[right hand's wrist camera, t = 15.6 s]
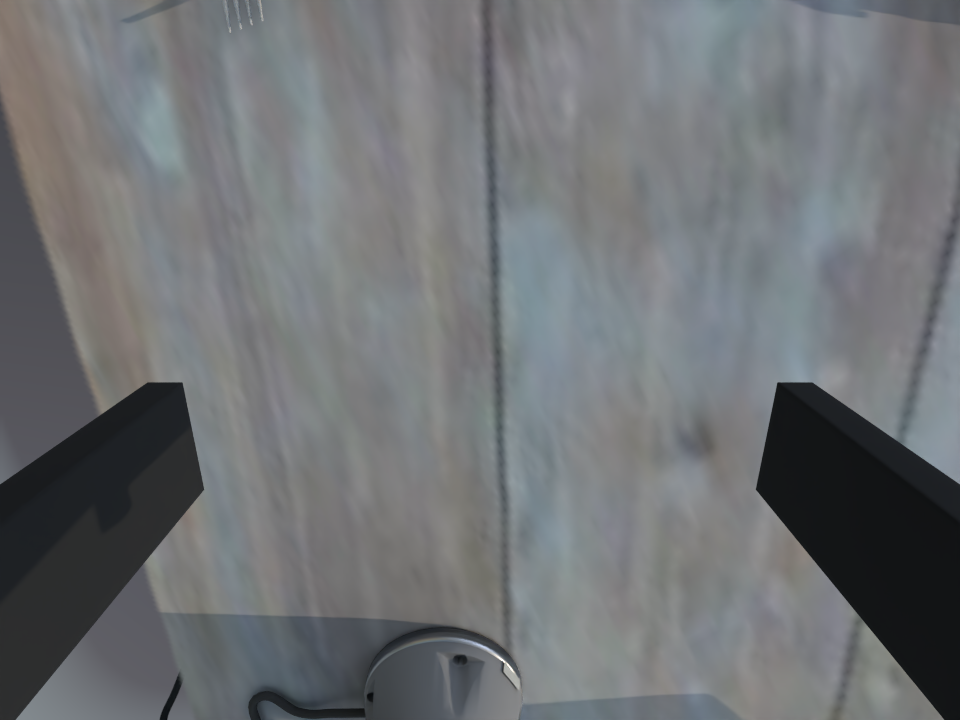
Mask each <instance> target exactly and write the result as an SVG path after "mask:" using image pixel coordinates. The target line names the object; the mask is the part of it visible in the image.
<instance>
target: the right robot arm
mask: <svg viewBox="0 0 960 720" xmlns="http://www.w3.org/2000/svg"><path fill="white" fill-rule="evenodd" d="M203 490H204V487H203V482H202V477H201V472H200V467H199V462H198V457H197V452H196V447H195V442H194V437H193V432H192V427H191V422H190V418H189V413H188V408H187V403H186V398H185V393H184V388H183V383H146V384H145V385H143V386H142V387H141V388H139V389H138V390H136V391H135V392H133V393H132V394H130V395H129V396H128V397H126V398H125V399H123V400H122V401H120V402H119V403H117V404H116V405H114V406H113V407H112V408H110V409H109V410H107V411H106V412H104V413H103V414H101V415H100V416H99V417H97V418H96V419H94V420H93V421H91V422H90V423H89V424H87V425H86V426H84V427H83V428H81V429H80V430H78V431H77V432H75V433H74V434H73V435H71V436H70V437H68V438H67V439H65V440H64V441H62V442H61V443H60V444H58V445H57V446H55V447H54V448H52V449H51V450H49V451H48V452H47V453H45V454H44V455H42V456H41V457H39V458H38V459H36V460H35V461H34V462H32V463H31V464H29V465H28V466H26V467H25V468H23V469H22V470H20V471H19V472H18V473H16V474H15V475H13V476H12V477H10V478H9V479H7V480H6V481H5V482H3V483H2V484H0V720H16V718H17V717H18V716H19V715H20V714H21V712H22V711H23V710H24V709H25V708H26V706H27V705H28V704H29V703H30V701H31V700H32V699H33V698H34V696H35V695H36V694H37V693H38V692H39V690H40V689H41V688H42V687H43V686H44V684H45V683H46V682H47V681H48V679H49V678H50V677H51V676H52V674H53V673H54V672H55V671H56V670H57V668H58V667H59V666H60V665H61V664H62V662H63V661H64V660H65V659H66V657H67V656H68V655H69V654H70V653H71V651H72V650H73V649H74V648H75V646H76V645H77V644H78V643H79V642H80V640H81V639H82V638H83V637H84V635H85V634H86V633H87V632H88V631H89V629H90V628H91V627H92V626H93V625H94V623H95V622H96V621H97V620H98V618H99V617H100V616H101V615H102V614H103V612H104V611H105V610H106V609H107V607H108V606H109V605H110V604H111V603H112V601H113V600H114V599H115V598H116V596H117V595H118V594H119V593H120V592H121V590H122V589H123V588H124V587H125V585H126V584H127V583H128V582H129V580H130V579H131V578H132V577H133V576H134V574H135V573H136V572H137V571H138V570H139V568H140V567H141V566H142V565H143V563H144V562H145V561H146V560H147V559H148V557H149V556H150V555H151V554H152V552H153V551H154V550H155V549H156V548H157V546H158V545H159V544H160V543H161V542H162V540H163V539H164V538H165V537H166V535H167V534H168V533H169V532H170V531H171V529H172V528H173V527H174V526H175V524H176V523H177V522H178V521H179V520H180V518H181V517H182V516H183V515H184V513H185V512H186V511H187V510H188V509H189V507H190V506H191V505H192V504H193V502H194V501H195V500H196V499H197V498H198V496H199V495H200V494H201V493H202V491H203ZM756 490H757V491H758V493H759V494H760V495H761V496H762V498H763V499H764V500H765V501H766V502H767V504H768V505H769V506H770V507H771V509H772V510H773V511H774V512H775V513H776V515H777V516H778V517H779V518H780V520H781V521H782V522H783V523H784V524H785V526H786V527H787V528H788V529H789V531H790V532H791V533H792V534H793V535H794V537H795V538H796V539H797V540H798V542H799V543H800V544H801V545H802V546H803V548H804V549H805V550H806V551H807V552H808V554H809V555H810V556H811V557H812V559H813V560H814V561H815V562H816V563H817V565H818V566H819V567H820V568H821V570H822V571H823V572H824V573H825V574H826V576H827V577H828V578H829V579H830V581H831V582H832V583H833V584H834V585H835V587H836V588H837V589H838V590H839V592H840V593H841V594H842V595H843V596H844V598H845V599H846V600H847V601H848V603H849V604H850V605H851V606H852V607H853V609H854V610H855V611H856V612H857V614H858V615H859V616H860V617H861V618H862V620H863V621H864V622H865V623H866V625H867V626H868V627H869V628H870V629H871V631H872V632H873V633H874V634H875V635H876V637H877V638H878V639H879V640H880V642H881V643H882V644H883V645H884V646H885V648H886V649H887V650H888V651H889V653H890V654H891V655H892V656H893V657H894V659H895V660H896V661H897V662H898V664H899V665H900V666H901V667H902V668H903V670H904V671H905V672H906V673H907V675H908V676H909V677H910V678H911V679H912V681H913V682H914V683H915V684H916V686H917V687H918V688H919V689H920V690H921V692H922V693H923V694H924V695H925V697H926V698H927V699H928V700H929V701H930V703H931V704H932V705H933V706H934V708H935V709H936V710H937V711H938V712H939V714H940V715H941V716H942V717H943V718H944V720H960V484H958V483H957V482H955V481H954V480H953V479H951V478H950V477H948V476H947V475H945V474H944V473H942V472H941V471H940V470H938V469H937V468H935V467H934V466H932V465H931V464H929V463H928V462H926V461H925V460H924V459H922V458H921V457H919V456H918V455H916V454H915V453H913V452H912V451H911V450H909V449H908V448H906V447H905V446H903V445H902V444H900V443H899V442H898V441H896V440H895V439H893V438H892V437H890V436H889V435H887V434H886V433H885V432H883V431H882V430H880V429H879V428H877V427H876V426H874V425H873V424H872V423H870V422H869V421H867V420H866V419H864V418H863V417H861V416H860V415H859V414H857V413H856V412H854V411H853V410H851V409H850V408H848V407H847V406H846V405H844V404H843V403H841V402H840V401H838V400H837V399H835V398H834V397H832V396H831V395H830V394H828V393H827V392H825V391H824V390H822V389H821V388H819V387H818V386H817V385H815V384H814V383H777V388H776V393H775V398H774V403H773V408H772V413H771V418H770V422H769V427H768V432H767V437H766V442H765V447H764V452H763V457H762V462H761V467H760V472H759V477H758V482H757V487H756ZM182 683H183V681H182V678H181V674H180V672H179V674H178V676H177V679H176V681H175V684H174V686H173V689H172V691H171V693H170V696H169V698H168V700H167V702H166V704H165V706H164V708H163V710H162V712H161V715H160V720H167V719H168V715H169V712H170V710H171V708H172V706H173V704H174V702H175V699H176V697H177V695H178V693H179V690H180V688H181V685H182ZM262 700H268V701H271V702H273V703H275V704H276V705H278V706H279V707H281V708H282V709H283V710H285V711H286V712H288V713H290V714H292V715H294V716H297V717H301V718H310V719H317V718H353V717H366V720H519V719H520V715H521V708H522V686H521V677H520V673H519V670H518V668H517V666H516V664H515V662H514V661H513V659H512V658H511V657H510V655H509V654H508V653H507V652H506V651H505V650H504V649H503V648H502V647H500V646H499V645H498V644H496V643H495V642H493V641H492V640H490V639H488V638H486V637H484V636H481V635H479V634H476V633H473V632H470V631H466V630H461V629H454V628H431V629H424V630H419V631H415V632H412V633H409V634H407V635H404V636H402V637H400V638H398V639H396V640H394V641H393V642H391V643H390V644H388V645H387V646H386V647H385V648H384V649H383V650H381V651H380V653H379V654H378V655H377V656H376V658H375V659H374V661H373V662H372V664H371V666H370V669H369V672H368V677H367V681H366V686H365V691H364V708H360V709H322V710H309V709H303V708H299V707H296V706H294V705H292V704H291V703H289V702H288V701H286V700H285V699H284V698H282V697H281V696H279V695H277V694H276V693H273V692H269V691H265V692H260V693H258V694H256V695H254V696H253V697H252V699H251V700H250V702H249V706H248V708H249V714H250V717H251V720H261V719H260V717H259V714H258V711H257V707H256V706H257V703H258V702H260V701H262Z"/></svg>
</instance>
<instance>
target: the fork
mask: <svg viewBox="0 0 960 720" xmlns="http://www.w3.org/2000/svg"><path fill="white" fill-rule="evenodd" d="M221 1H222V5H223V9H224V13H225V17H226V21H227V25H228V31H229V33H231V27H230V18H229V9H228V3H227V0H221ZM256 1H257V5H258V9H259V13H260V17H261V21H262V22H263V15H262V7H261V0H256ZM233 3H234V6H235V10H236V14H237V18H238V22H239V27H240V29H242V27H241V17H240V9H239V2H238V0H233ZM245 4H246V8H247V12H248V16H249V20H250V24H251V25H252V16H251V8H250V0H245Z"/></svg>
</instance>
